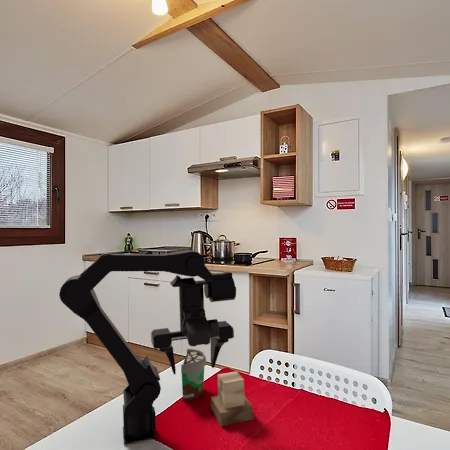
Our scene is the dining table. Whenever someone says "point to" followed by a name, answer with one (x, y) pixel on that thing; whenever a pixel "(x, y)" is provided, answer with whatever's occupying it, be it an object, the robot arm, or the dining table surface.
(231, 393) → the birch block
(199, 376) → the food container
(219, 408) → the walnut base
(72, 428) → the dining table surface
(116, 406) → the dining table surface
